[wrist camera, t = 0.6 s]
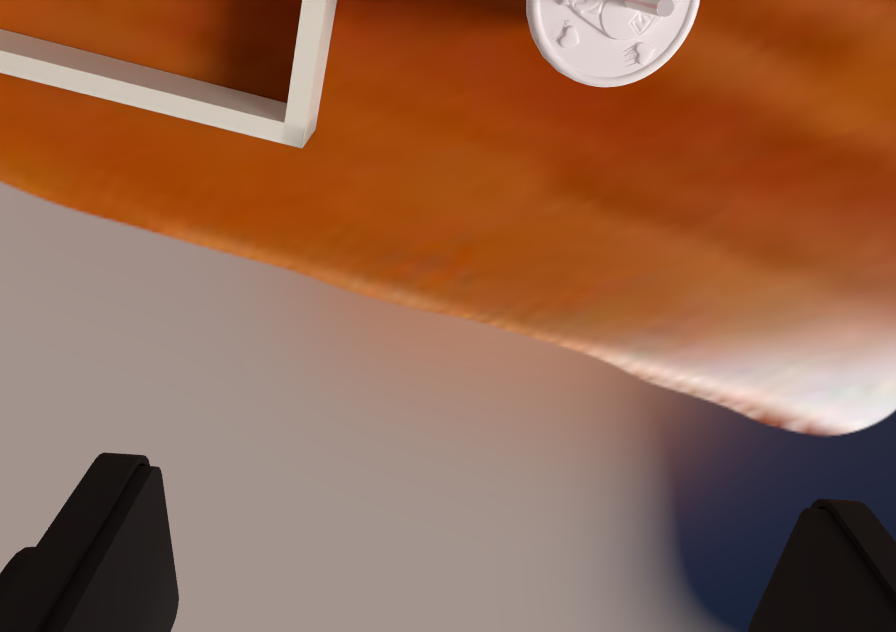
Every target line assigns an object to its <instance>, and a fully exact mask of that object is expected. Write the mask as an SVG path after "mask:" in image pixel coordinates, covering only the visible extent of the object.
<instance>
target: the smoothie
mask: <svg viewBox="0 0 896 632" xmlns="http://www.w3.org/2000/svg"><path fill="white" fill-rule="evenodd" d="M699 2H700V0H526V15H527V19H528V23H529V27H530V31H531V35H532V38H533V40H534V42H535V43H536V45H537V47H538V49H539V51H540V52H541V54H542V56H543V57H544V58H545V59H546V60H547V61H548V62H549V63H550V64H551V65H552V66H553V67H554V68H555V69H556V70H557V71H558V72H560V73H562V74H564V75H566V76H567V77H569V78H571V79H573V80H575V81H578V82H580V83H583V84H587V85H591V86H597V87H615V86H621V85H626V84H629V83H632V82H635V81H638V80H640V79H642V78H644V77H646V76H648V75H649V74H651V73H653V72H654V71H656V70H657V69H658V68H660V67H661V66H662V65H663V64H665V63H666V62H667V61H668V60H669V59H670V58H671V57H672V56H673V55H674V53H675V52H676V51H677V50H678V49H679V47H680V46H681V44H682V43H683V41H684V40H685V38H686V37H687V35H688V33H689V31H690V29H691V27H692V25H693V22H694V20H695V17H696V14H697V10H698V7H699Z"/></svg>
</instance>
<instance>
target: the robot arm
mask: <svg viewBox="0 0 896 632" xmlns="http://www.w3.org/2000/svg"><path fill="white" fill-rule="evenodd" d="M178 601H179V595H178V587H177V580H176V572H175V565H174V558H173V551H172V544H171V536H170V529H169V522H168V515H167V508H166V500H165V494H164V487H163V479H162V473H161V470H160V468H159V467H154V466H150V464H149V460H148V458H147V457H146V456H143V455H131V454H116V453H102V454H100V455H99V456H98V457H97V458H96V459H95V461H94V462H93V463H92V465H91V466H90V468H89V469H88V471H87V472H86V474H85V475H84V477H83V478H82V480H81V481H80V483H79V484H78V485H77V487H76V489H75V490H74V491H73V493H72V494H71V496H70V497H69V499H68V500H67V502H66V503H65V505H64V506H63V508H62V509H61V511H60V512H59V513H58V515H57V516H56V518H55V519H54V521H53V522H52V524H51V525H50V527H49V528H48V530H47V531H46V533H45V534H44V536H43V537H42V539H41V540H40V541H39V543H38V544H37V546H36V547H26V548H24V549H22V550H21V551H19V552H18V553H16V554H15V556H14V557H13V558H12V559H11V560H10V561H9V562H8V564H7V565H6V566H5V568H4V569H3V571H2V572H1V574H0V632H171V629H172V627H173V624H174V621H175V618H176V614H177V609H178ZM748 632H896V543H895V541H894V540H893V538H892V537H891V536H890V535H889V533H888V532H887V531H886V529H885V528H884V527H883V526H882V524H881V523H880V522H879V520H878V519H877V518H876V516H875V515H874V514H873V513H872V511H871V510H870V509H869V508H868V507H867V506H866V505H865V504H863V503H861V502H859V501H848V500H833V499H818V500H816V501H815V502H814V503H813V504H812V506H811V507H810V508H806V509H804V510H803V511H802V512H801V514H800V516H799V518H798V520H797V522H796V524H795V527H794V529H793V531H792V533H791V535H790V538H789V540H788V542H787V544H786V546H785V548H784V551H783V553H782V555H781V557H780V559H779V562H778V564H777V566H776V568H775V570H774V572H773V575H772V577H771V579H770V581H769V583H768V586H767V588H766V590H765V592H764V594H763V596H762V599H761V601H760V603H759V605H758V607H757V610H756V612H755V614H754V616H753V618H752V620H751V623H750V625H749V629H748Z"/></svg>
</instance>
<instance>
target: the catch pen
mask: <svg viewBox="0 0 896 632" xmlns="http://www.w3.org/2000/svg"><path fill="white" fill-rule="evenodd" d="M336 3H337V0H302V6H301V13H300V20H299V27H298V33H297V40H296V47H295V54H294V61H293V68H292V75H291V81H290V88H289V95H288V102H287V103H285V102H281V101H277V100H273V99H269V98H265V97H261V96H258V95H254V94H250V93H246V92H242V91H238V90H234V89H231V88H227V87H223V86H219V85H215V84H211V83H207V82H204V81H200V80H196V79H192V78H188V77H184V76H180V75H177V74H173V73H169V72H165V71H161V70H157V69H153V68H150V67H146V66H142V65H138V64H134V63H130V62H126V61H123V60H119V59H115V58H111V57H107V56H103V55H99V54H96V53H92V52H88V51H84V50H80V49H76V48H72V47H69V46H65V45H61V44H57V43H53V42H49V41H45V40H42V39H38V38H34V37H30V36H26V35H22V34H18V33H14V32H11V31H7V30H3V29H0V73H4V74H8V75H12V76H16V77H20V78H24V79H28V80H32V81H36V82H40V83H44V84H48V85H52V86H56V87H60V88H64V89H68V90H71V91H75V92H79V93H83V94H87V95H91V96H95V97H99V98H103V99H107V100H111V101H115V102H119V103H123V104H127V105H131V106H135V107H139V108H143V109H147V110H151V111H155V112H159V113H163V114H167V115H171V116H175V117H179V118H183V119H187V120H191V121H195V122H199V123H203V124H207V125H211V126H215V127H219V128H223V129H227V130H231V131H235V132H239V133H243V134H247V135H251V136H255V137H259V138H263V139H267V140H271V141H275V142H278V143H282V144H286V145H290V146H294V147H298V148H303V146H304V145H305V143H306V142H307V141H308V139H309V138H310V136H311V135H312V134H313V132H314V131H315V128H316V122H317V116H318V110H319V104H320V98H321V92H322V86H323V80H324V74H325V69H326V63H327V57H328V51H329V45H330V39H331V33H332V27H333V21H334V15H335V9H336Z"/></svg>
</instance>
